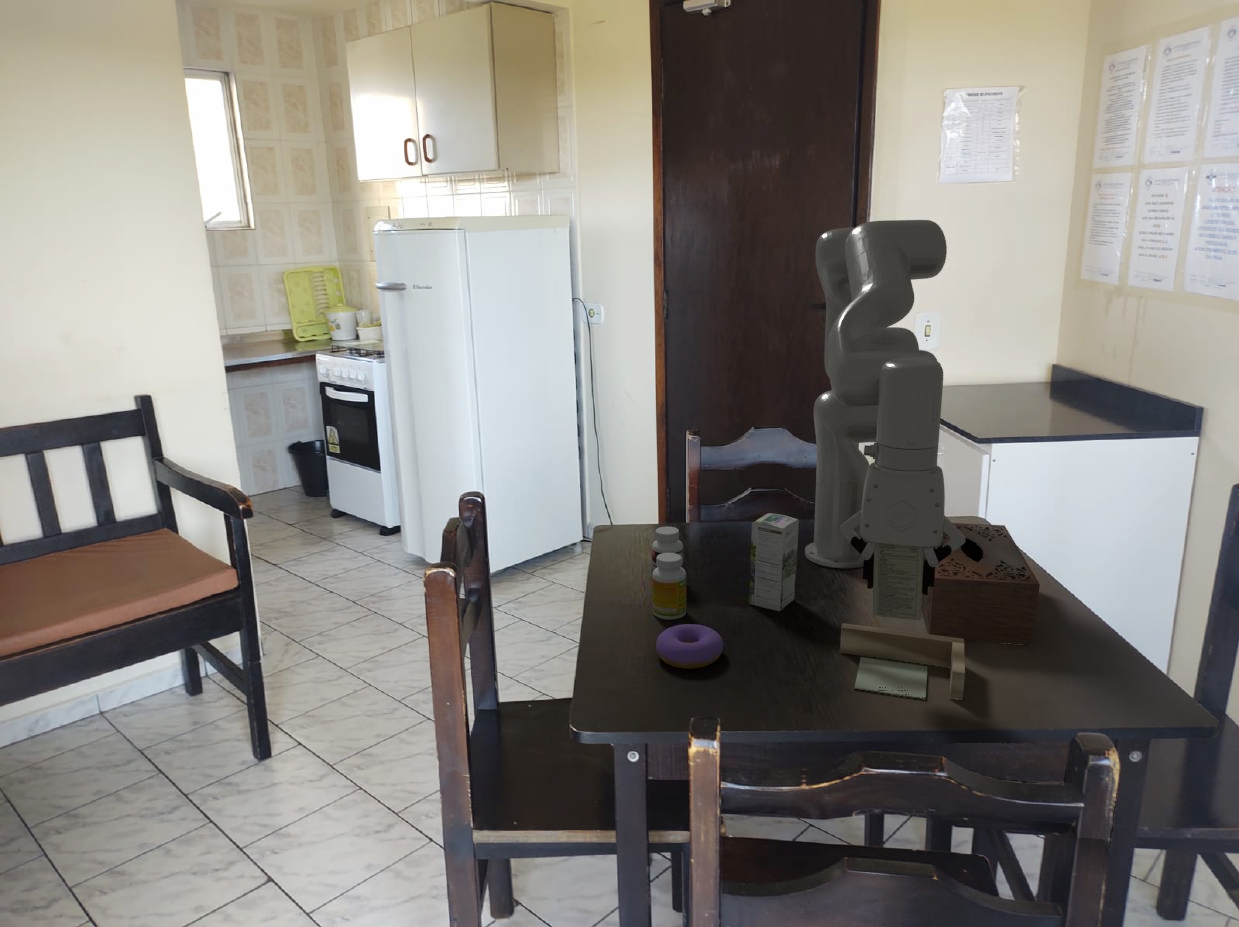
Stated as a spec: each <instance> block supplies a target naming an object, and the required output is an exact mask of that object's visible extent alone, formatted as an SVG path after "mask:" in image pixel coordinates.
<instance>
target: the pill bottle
mask: <svg viewBox="0 0 1239 927" xmlns="http://www.w3.org/2000/svg"><path fill="white" fill-rule="evenodd" d="M655 539H656V540H654V541H653V543H652V544H651V567H652V568H651V569H652V570H651V574H652V575H651V576H653V571H654V569H656V568H657V564H656V561H657V556H658V555H659V554H662V553H676V554H679V555H680V556H681V557H682V566H681V567H682V568H683V569H684V544H683V542H682V541H681V540H679V539H680V531H679V528H677V527H674V526H661V527H658V528H656V529H655Z"/></svg>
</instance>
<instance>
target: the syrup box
mask: <svg viewBox="0 0 1239 927" xmlns="http://www.w3.org/2000/svg"><path fill="white" fill-rule="evenodd" d="M799 521H800V520H799V519H798V518H794V517H791V516H788V515H784V514H779V513H772V512H770V513H766V514H764V515H763V516H762V517H760V518H758V519H757V520H755V521H753V522H751V538H750V539H751V540H750V544H751V545H750V567H749V568H750V570H749V595H748V596H749V598H748V602H749V603H748V604H749V605H752V606H756V607H760V608H764V609H766V610H767V609H768V610H771V611H772V610H773V611H777V612H781V611H783V610H784V609H785V608H786V607H788V606H789V605H790V604H791V603H793V602H794V601H795V600H796V582H797V564H798V563H797V562H798V545H799V544H798V543H799V523H800V522H799Z"/></svg>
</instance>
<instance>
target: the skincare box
mask: <svg viewBox="0 0 1239 927" xmlns="http://www.w3.org/2000/svg"><path fill="white" fill-rule="evenodd" d="M923 571H924V548H914V547H903V546H893V545H883V544H875V543H874V572H873V588H872V611H871V612H872V613H871V615H872V616H873V617H881V618H891V619H900V620H909V621H921V618H922V614H923V613H922V595H923V594H922V585H923Z"/></svg>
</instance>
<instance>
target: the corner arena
mask: <svg viewBox="0 0 1239 927" xmlns="http://www.w3.org/2000/svg"><path fill="white" fill-rule="evenodd" d="M840 629H841V630H840V645H839V649H840V650H839V653H840V654H846V655H854V656H860V659H859V663H858V667H857V668H858V669H857V675H856V679H855V684H854V688H853V690H854V689H859V690H858V691H860V690H870V691H872V690H873V691H878V690H885V691H879V692H883V693H890V694H899V695H902V694H903V696H905V694H907V695H906V696H910V697H920V698H922V697H923V698H924V697H927V681H928V680H927V678H928V666H931V665H935V666H934V667H938V666H943V667H942V668H945V667H950V668H949V677H950V678H949V682H950V683H949V685H950V686H949V687H950V688H949V698H950V697H951V698H958V699H961V700H963V699H964V688H965V676H966V667H965V666H966V664H965V662H966V659H965V641H964V639H961V638H954V637H946V636H938V635H930V634H928V633H922V632H921V633H920V632H914V631H905V630H897V629H891V628H883V627H877V626H876V627H875V626H866V625H858V624H853V623H852V624H851V623H844V622H843V623H841V628H840ZM874 657H876V658H874ZM888 659H893V660H888ZM895 660H898V661H895ZM902 661H904V662H902ZM909 662H911V663H909ZM916 663H922V664H916ZM924 664H926V665H924ZM927 664H928V665H927ZM879 687H881V688H879ZM882 687H883V688H882ZM885 687H886V688H885ZM898 687H899V688H898ZM901 687H902V688H901ZM886 690H887V691H886ZM892 690H893V691H892ZM898 690H900V691H898ZM901 690H903V692H902V691H901ZM904 690H906V691H904ZM907 690H908V691H907ZM908 694H909V695H908Z"/></svg>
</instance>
